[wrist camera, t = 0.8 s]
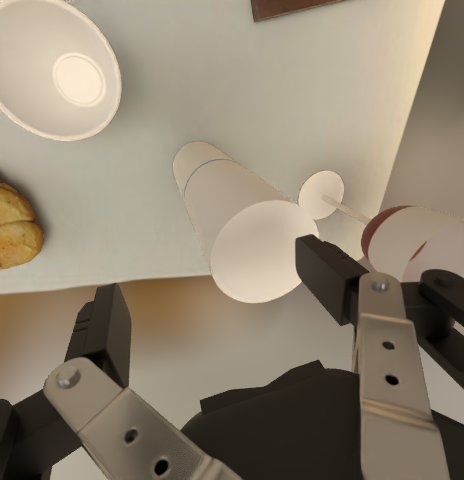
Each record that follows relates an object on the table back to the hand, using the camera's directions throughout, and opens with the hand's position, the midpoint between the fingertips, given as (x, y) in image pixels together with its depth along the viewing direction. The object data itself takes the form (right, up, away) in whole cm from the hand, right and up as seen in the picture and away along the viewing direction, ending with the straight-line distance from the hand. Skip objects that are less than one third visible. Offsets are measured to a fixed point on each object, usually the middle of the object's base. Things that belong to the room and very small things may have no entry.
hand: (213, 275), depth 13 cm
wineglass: (+15, +9, +34) cm, 38 cm away
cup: (-16, +19, +19) cm, 31 cm away
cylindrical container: (-4, +11, +27) cm, 29 cm away
